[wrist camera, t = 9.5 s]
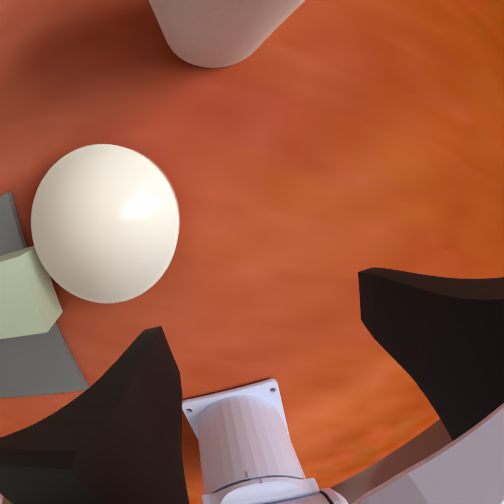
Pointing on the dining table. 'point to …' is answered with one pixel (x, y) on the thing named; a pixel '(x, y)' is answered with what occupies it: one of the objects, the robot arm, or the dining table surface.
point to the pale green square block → (26, 295)
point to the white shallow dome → (105, 223)
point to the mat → (32, 337)
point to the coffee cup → (219, 27)
